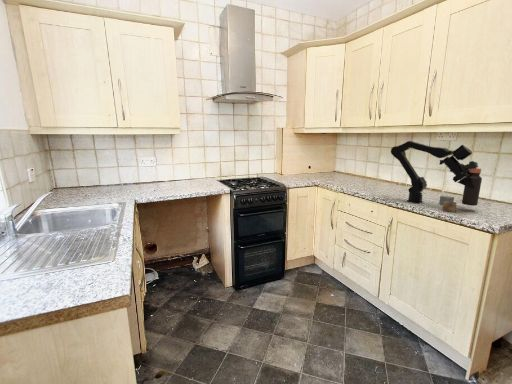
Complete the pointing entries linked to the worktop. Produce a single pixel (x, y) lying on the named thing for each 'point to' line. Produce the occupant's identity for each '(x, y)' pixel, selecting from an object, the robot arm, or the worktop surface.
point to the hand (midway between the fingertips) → (475, 187)
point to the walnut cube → (449, 206)
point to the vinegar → (472, 194)
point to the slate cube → (445, 199)
